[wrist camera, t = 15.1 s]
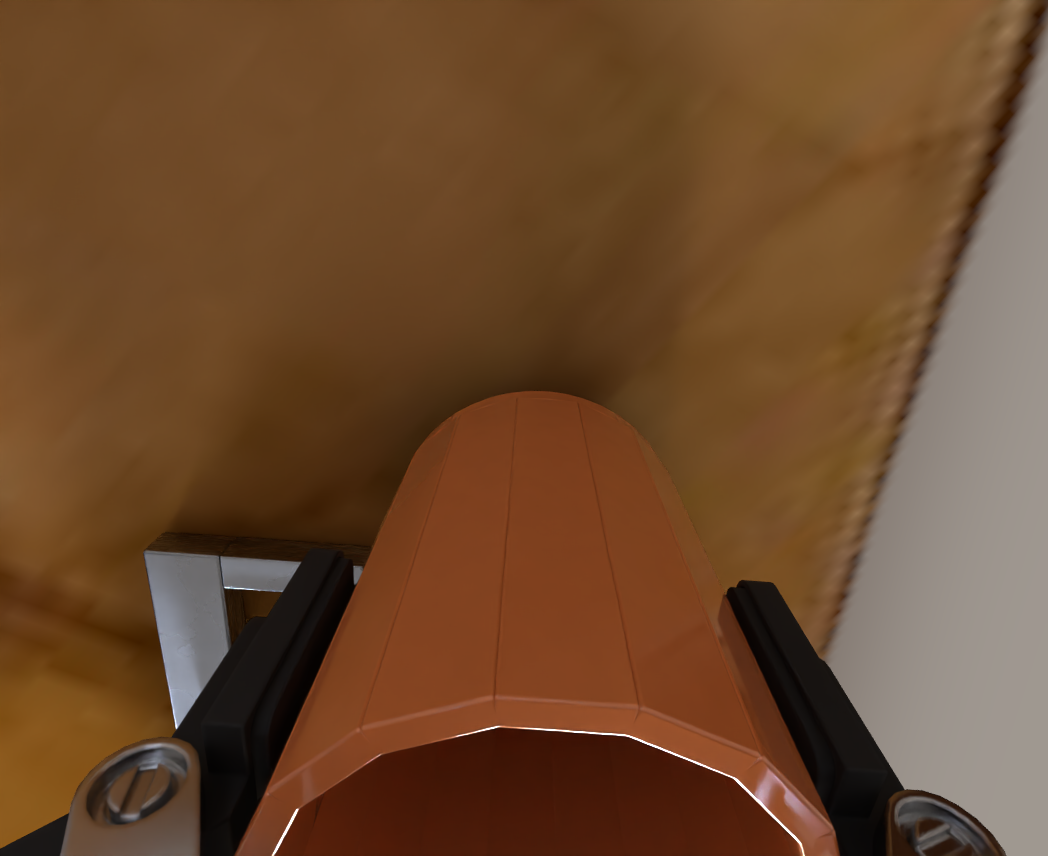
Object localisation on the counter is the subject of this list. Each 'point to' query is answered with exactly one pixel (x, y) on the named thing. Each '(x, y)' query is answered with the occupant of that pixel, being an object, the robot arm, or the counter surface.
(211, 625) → the cup bay
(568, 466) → the cup
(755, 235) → the counter surface
